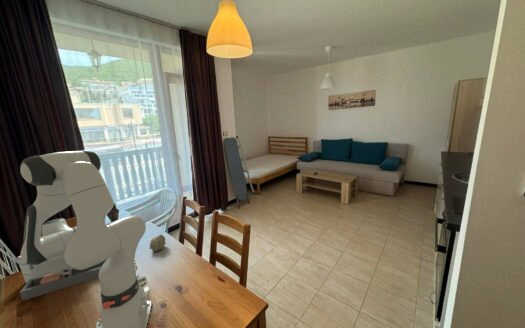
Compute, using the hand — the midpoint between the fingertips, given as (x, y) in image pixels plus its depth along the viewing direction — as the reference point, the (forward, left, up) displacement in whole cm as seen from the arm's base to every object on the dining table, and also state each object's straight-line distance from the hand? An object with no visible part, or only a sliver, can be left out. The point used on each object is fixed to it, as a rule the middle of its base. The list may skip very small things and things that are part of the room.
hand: (67, 276), depth 101 cm
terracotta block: (0, +5, -2) cm, 5 cm away
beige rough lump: (+5, -40, -3) cm, 41 cm away
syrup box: (+11, +15, -3) cm, 19 cm away
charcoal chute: (0, -2, -3) cm, 3 cm away
